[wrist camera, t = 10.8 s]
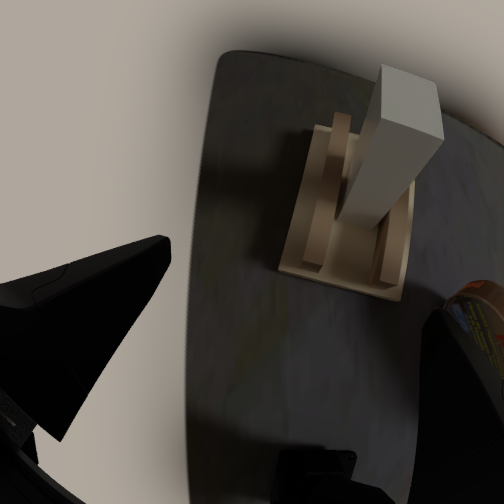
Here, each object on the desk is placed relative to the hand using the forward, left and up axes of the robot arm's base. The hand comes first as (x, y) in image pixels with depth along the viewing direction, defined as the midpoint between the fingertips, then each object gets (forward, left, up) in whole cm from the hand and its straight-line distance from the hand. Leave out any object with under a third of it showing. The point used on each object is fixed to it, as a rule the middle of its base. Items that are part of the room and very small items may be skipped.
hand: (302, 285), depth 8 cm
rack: (+9, -5, -14) cm, 17 cm away
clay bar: (+9, -5, -13) cm, 16 cm away
